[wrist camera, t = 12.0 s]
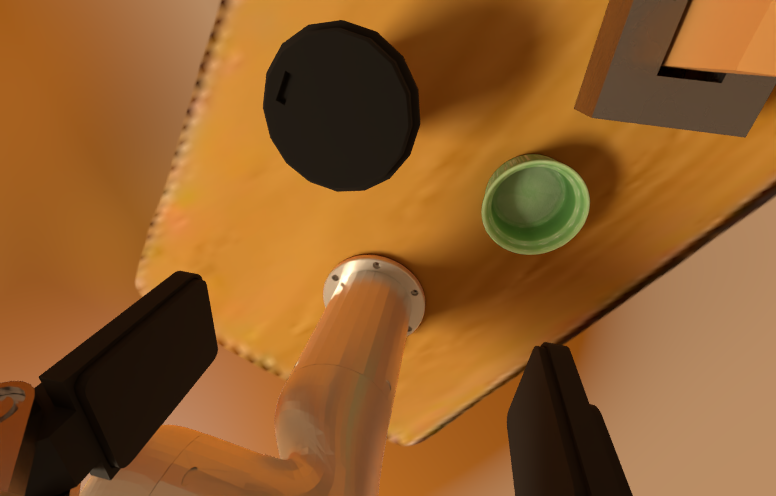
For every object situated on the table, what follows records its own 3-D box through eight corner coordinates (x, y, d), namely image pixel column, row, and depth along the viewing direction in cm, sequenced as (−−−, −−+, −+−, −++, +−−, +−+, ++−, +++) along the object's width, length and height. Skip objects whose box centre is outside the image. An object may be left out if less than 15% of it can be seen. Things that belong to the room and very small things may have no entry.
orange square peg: (705, 9, 27) (857, -18, 17) (677, 69, 29) (798, 78, 19) (662, 4, 27) (785, -25, 17) (638, 63, 29) (735, 70, 19)
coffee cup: (301, 120, 36) (237, 148, 26) (345, 3, 31) (286, -22, 20) (396, 175, 37) (371, 223, 27) (455, 70, 32) (452, 80, 21)
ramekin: (466, 219, 38) (466, 237, 34) (502, 135, 34) (506, 145, 30) (548, 246, 38) (558, 267, 34) (595, 164, 33) (612, 179, 30)
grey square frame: (705, 125, 30) (745, 137, 26) (573, 108, 32) (591, 117, 27) (794, -51, 25) (865, -73, 20) (630, -64, 26) (664, -87, 22)
